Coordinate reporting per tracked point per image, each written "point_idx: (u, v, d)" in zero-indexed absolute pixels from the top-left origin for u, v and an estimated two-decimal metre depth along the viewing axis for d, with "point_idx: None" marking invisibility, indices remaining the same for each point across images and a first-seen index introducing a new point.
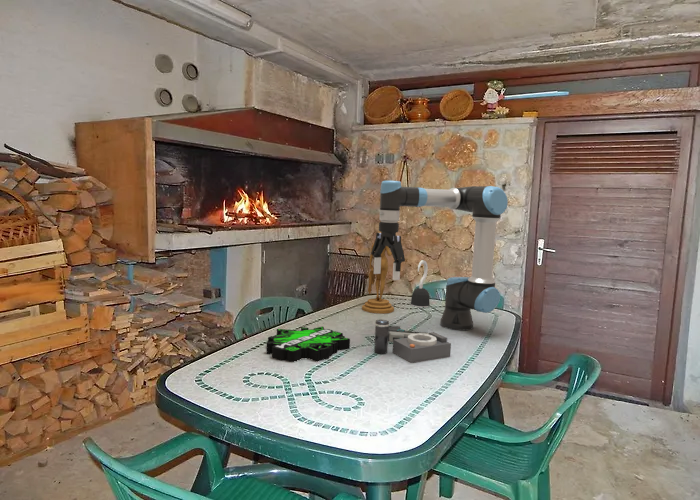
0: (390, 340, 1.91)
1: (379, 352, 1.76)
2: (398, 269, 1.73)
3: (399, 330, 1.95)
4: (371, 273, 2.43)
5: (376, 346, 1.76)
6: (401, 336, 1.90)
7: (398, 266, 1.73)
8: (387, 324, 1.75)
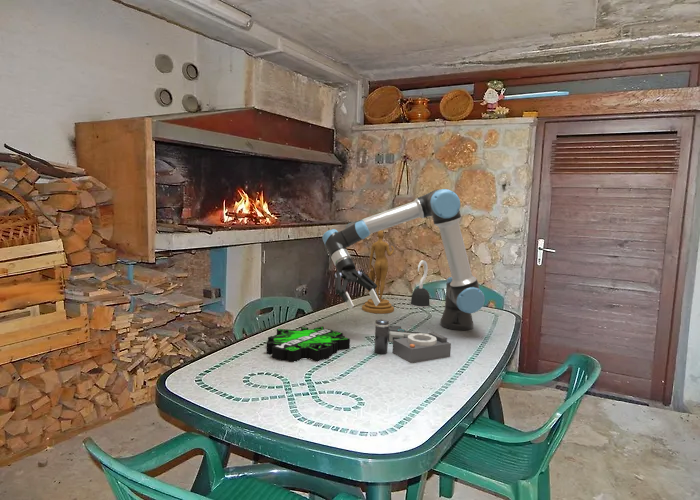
0: (390, 340, 1.91)
1: (379, 352, 1.76)
2: (343, 299, 1.81)
3: (399, 330, 1.95)
4: (371, 273, 2.43)
5: (376, 346, 1.76)
6: (401, 336, 1.90)
7: (342, 297, 1.82)
8: (387, 324, 1.75)
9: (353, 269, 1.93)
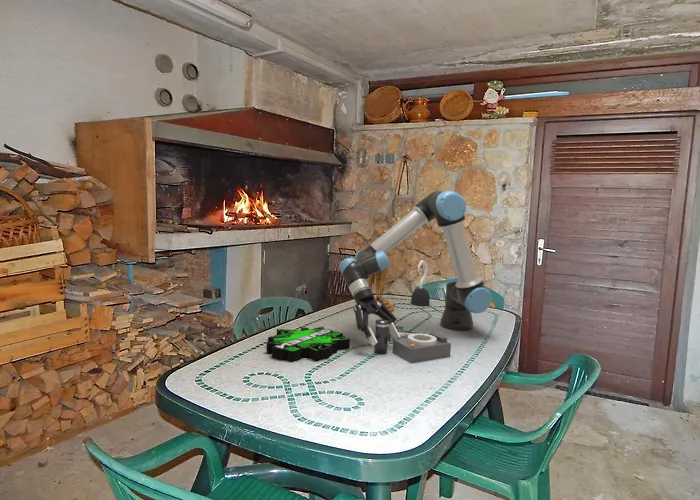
0: (391, 340, 1.91)
1: (379, 352, 1.76)
2: (366, 335, 1.73)
3: (401, 330, 1.95)
4: None
5: (376, 346, 1.76)
6: (402, 336, 1.90)
7: (365, 332, 1.74)
8: (387, 324, 1.75)
9: (372, 300, 1.85)
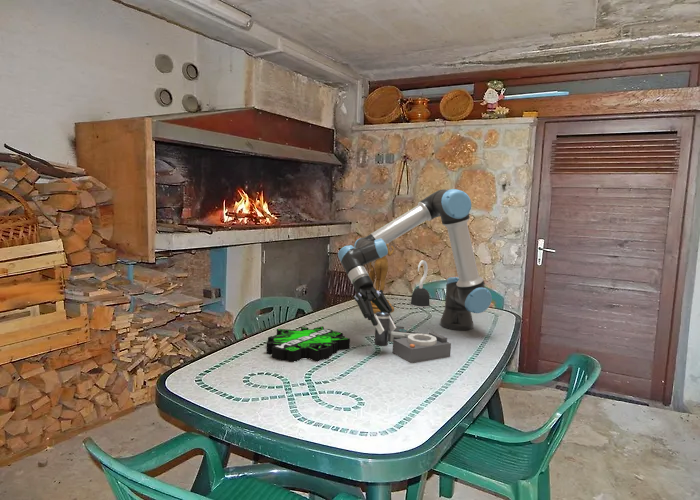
0: (391, 340, 1.91)
1: (379, 344, 1.75)
2: (373, 323, 1.74)
3: (401, 330, 1.95)
4: (371, 273, 2.43)
5: (376, 338, 1.75)
6: (402, 336, 1.90)
7: (372, 321, 1.74)
8: (388, 316, 1.74)
9: (371, 287, 1.84)
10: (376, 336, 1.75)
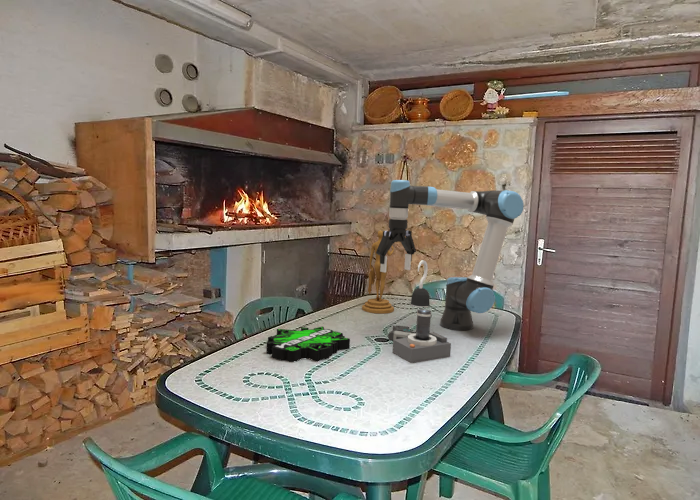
0: None
1: None
2: (380, 261, 1.86)
3: (405, 330, 1.96)
4: (371, 273, 2.43)
5: (418, 336, 1.74)
6: (404, 336, 1.90)
7: (380, 258, 1.86)
8: (429, 314, 1.73)
9: (403, 230, 1.90)
10: (417, 334, 1.74)
